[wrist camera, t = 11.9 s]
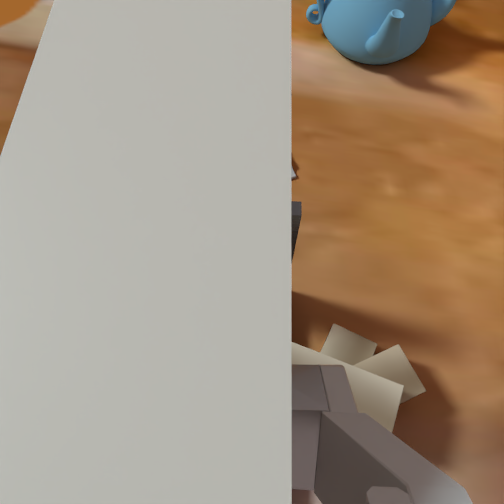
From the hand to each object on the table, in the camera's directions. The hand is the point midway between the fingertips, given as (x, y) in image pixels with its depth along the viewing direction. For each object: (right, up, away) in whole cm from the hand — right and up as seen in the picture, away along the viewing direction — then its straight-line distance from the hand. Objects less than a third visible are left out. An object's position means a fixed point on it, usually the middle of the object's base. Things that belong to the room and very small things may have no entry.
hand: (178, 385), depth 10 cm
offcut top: (+8, -8, +25) cm, 27 cm away
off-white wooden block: (0, 0, +10) cm, 10 cm away
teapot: (+18, +30, +48) cm, 59 cm away
